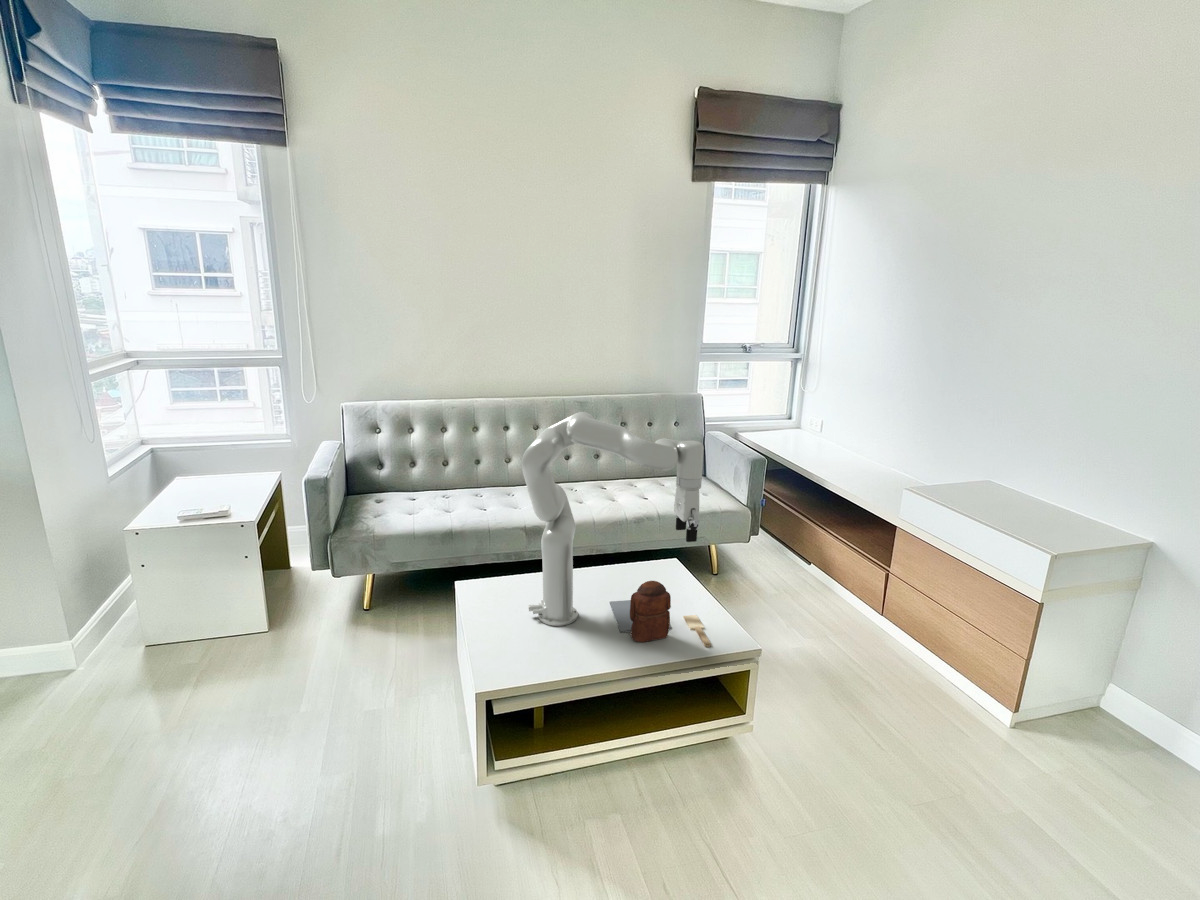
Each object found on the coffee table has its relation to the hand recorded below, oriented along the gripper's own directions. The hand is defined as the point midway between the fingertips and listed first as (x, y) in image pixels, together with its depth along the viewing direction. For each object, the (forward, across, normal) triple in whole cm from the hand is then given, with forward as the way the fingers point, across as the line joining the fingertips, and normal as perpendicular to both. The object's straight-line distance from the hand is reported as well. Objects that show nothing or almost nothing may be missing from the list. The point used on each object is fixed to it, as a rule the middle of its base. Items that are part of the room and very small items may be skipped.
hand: (685, 535), depth 189 cm
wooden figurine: (+29, +7, -13) cm, 33 cm away
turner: (+29, +6, +3) cm, 30 cm away
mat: (+29, -6, -12) cm, 32 cm away
